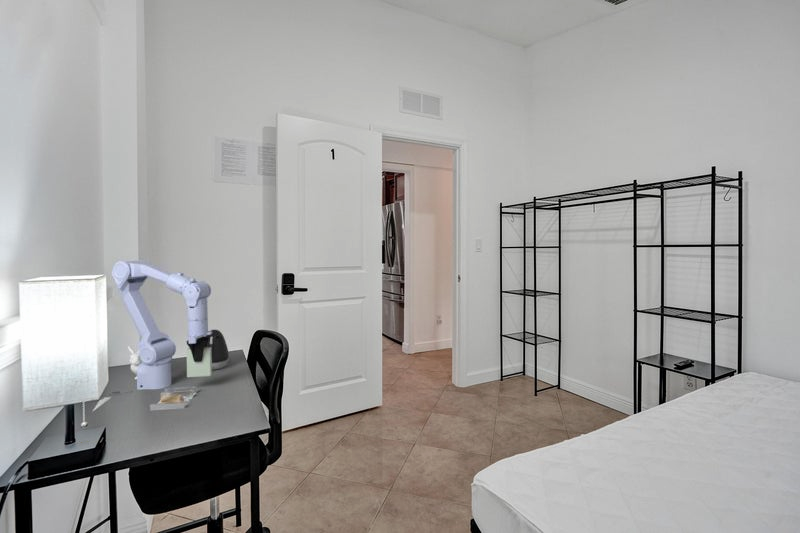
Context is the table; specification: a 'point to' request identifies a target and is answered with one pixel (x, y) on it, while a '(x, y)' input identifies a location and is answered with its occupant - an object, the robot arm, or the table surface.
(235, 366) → the table surface
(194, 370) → the pale green rectangular block
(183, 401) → the offcut lower
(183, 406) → the rack
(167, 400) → the offcut upper
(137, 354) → the rabbit
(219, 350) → the black egg shaped speaker
